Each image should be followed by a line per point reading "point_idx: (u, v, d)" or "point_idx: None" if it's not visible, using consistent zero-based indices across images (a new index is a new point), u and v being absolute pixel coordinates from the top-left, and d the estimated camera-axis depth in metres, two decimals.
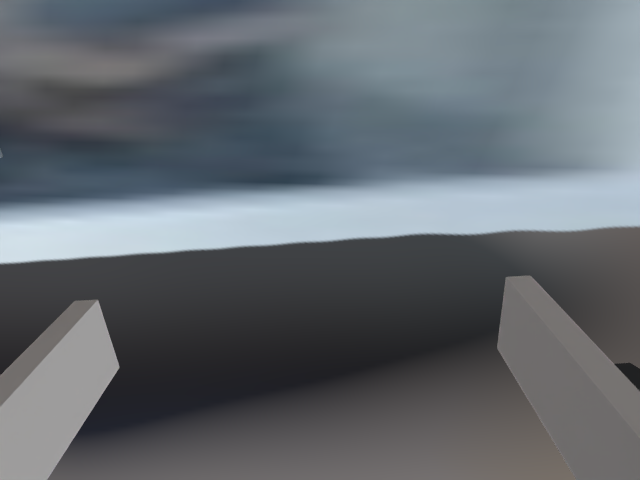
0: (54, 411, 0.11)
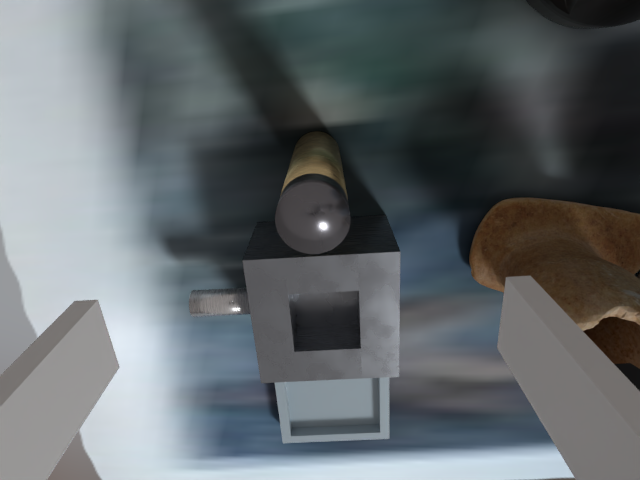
0: (54, 411, 0.11)
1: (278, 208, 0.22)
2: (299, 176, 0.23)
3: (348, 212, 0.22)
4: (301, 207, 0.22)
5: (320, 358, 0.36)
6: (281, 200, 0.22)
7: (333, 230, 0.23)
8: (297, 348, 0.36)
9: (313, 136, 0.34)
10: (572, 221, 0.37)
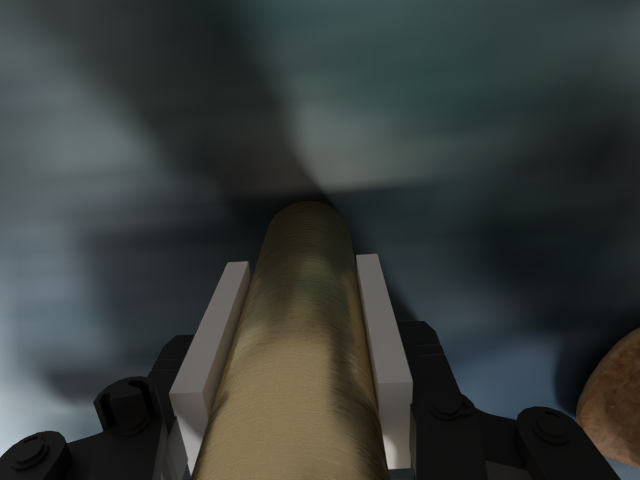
0: None
1: None
2: None
3: None
4: None
5: None
6: None
7: None
8: None
9: (300, 220, 0.17)
10: None
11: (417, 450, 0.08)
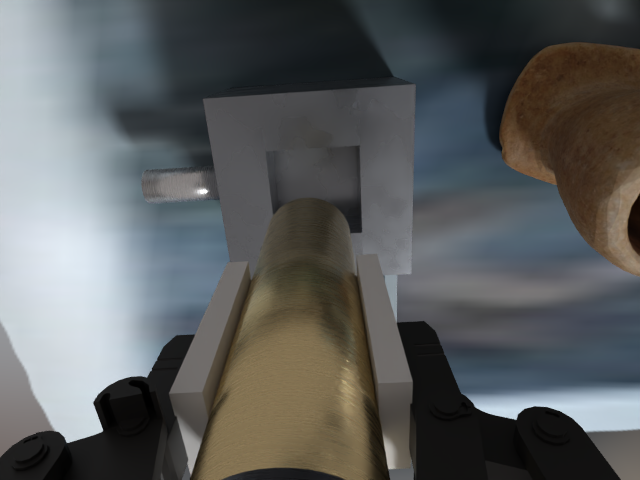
0: None
1: None
2: (235, 479, 0.07)
3: None
4: None
5: None
6: None
7: None
8: None
9: (300, 216, 0.17)
10: (636, 71, 0.28)
11: (417, 450, 0.08)
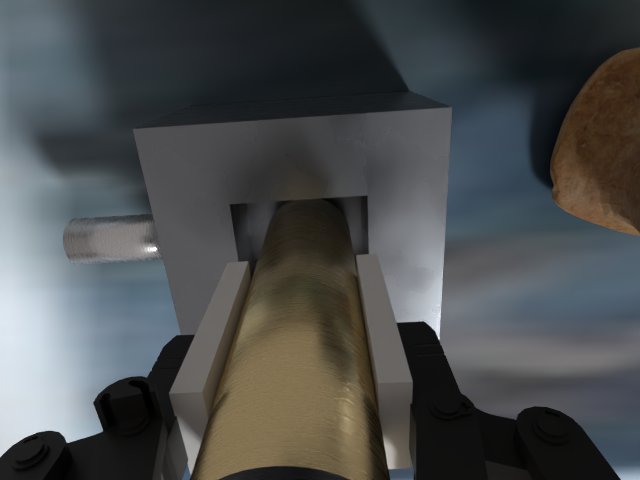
0: None
1: None
2: (235, 478, 0.07)
3: None
4: None
5: None
6: None
7: None
8: None
9: (300, 216, 0.17)
10: None
11: (417, 450, 0.08)
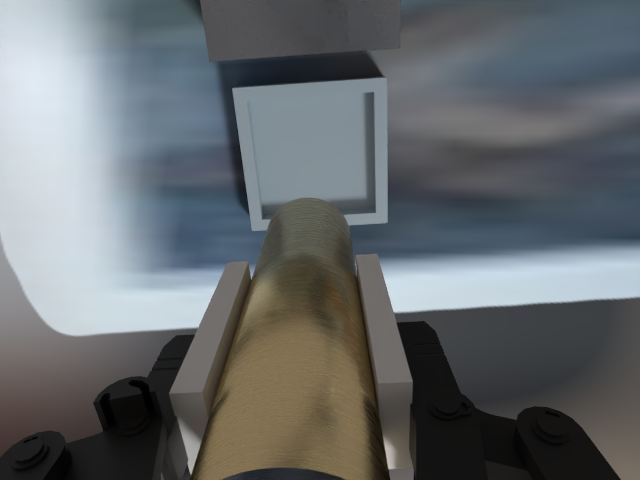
0: None
1: None
2: (235, 479, 0.07)
3: None
4: None
5: (289, 12, 0.26)
6: None
7: None
8: None
9: (300, 216, 0.17)
10: None
11: (417, 450, 0.08)
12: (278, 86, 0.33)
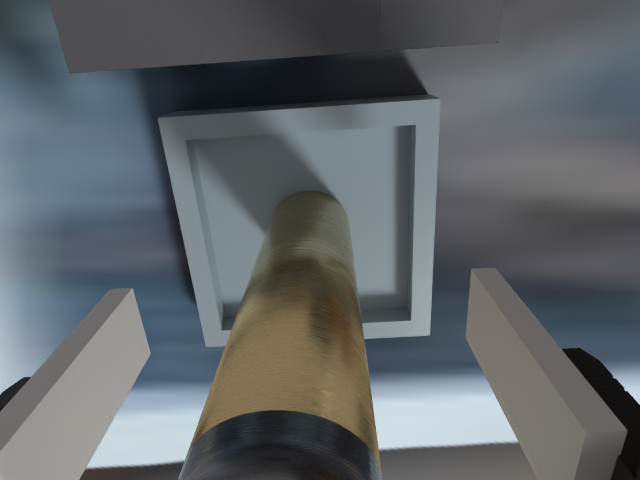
0: (98, 392, 0.12)
1: None
2: (236, 420, 0.08)
3: None
4: None
5: None
6: None
7: None
8: None
9: (301, 206, 0.18)
10: None
11: None
12: (241, 114, 0.18)
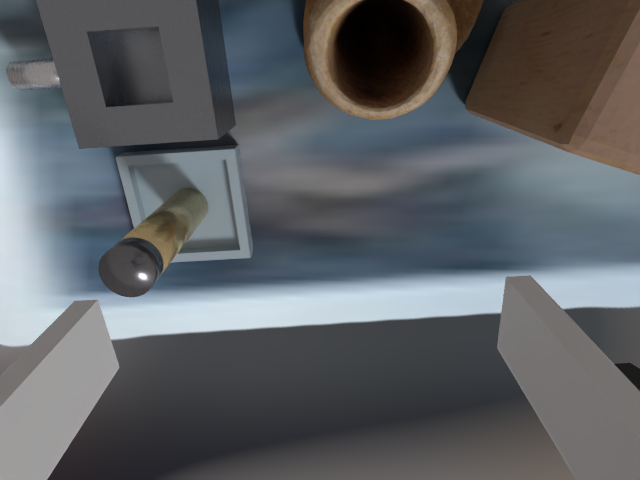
0: (54, 411, 0.11)
1: (100, 265, 0.31)
2: (122, 239, 0.32)
3: (151, 267, 0.31)
4: (116, 264, 0.31)
5: (133, 115, 0.35)
6: (101, 259, 0.31)
7: (142, 280, 0.31)
8: (111, 106, 0.35)
9: (177, 194, 0.43)
10: None
11: None
12: (151, 155, 0.42)
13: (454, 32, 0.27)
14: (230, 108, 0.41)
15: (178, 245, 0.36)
